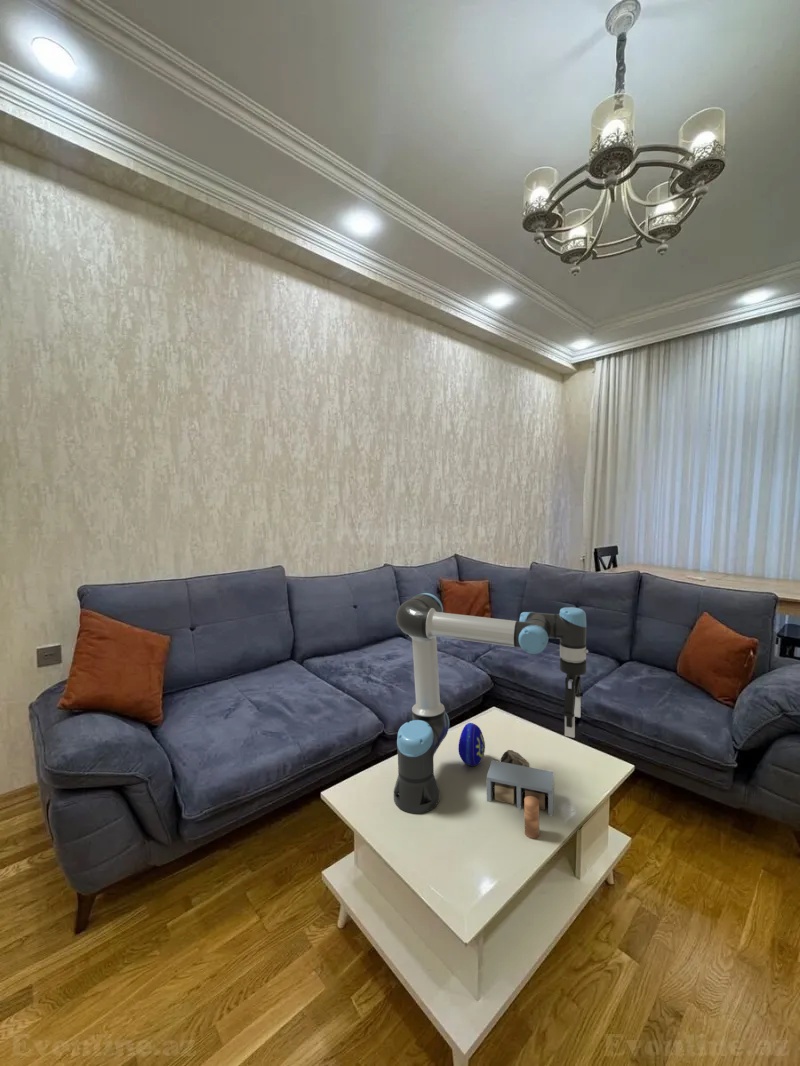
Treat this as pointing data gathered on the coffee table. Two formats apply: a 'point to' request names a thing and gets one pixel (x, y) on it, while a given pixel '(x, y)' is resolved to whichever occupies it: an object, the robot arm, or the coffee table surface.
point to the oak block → (505, 792)
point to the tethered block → (533, 811)
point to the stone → (514, 758)
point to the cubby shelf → (521, 780)
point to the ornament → (471, 745)
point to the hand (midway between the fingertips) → (572, 725)
